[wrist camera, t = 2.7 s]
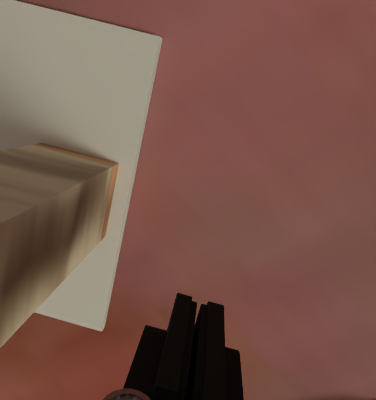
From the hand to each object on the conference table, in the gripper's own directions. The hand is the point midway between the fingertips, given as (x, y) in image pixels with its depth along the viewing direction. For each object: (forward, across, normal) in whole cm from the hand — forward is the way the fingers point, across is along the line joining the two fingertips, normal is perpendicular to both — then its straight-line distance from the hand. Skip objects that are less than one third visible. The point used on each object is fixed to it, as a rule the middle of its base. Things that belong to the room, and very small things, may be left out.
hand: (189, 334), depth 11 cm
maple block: (+10, +9, -1) cm, 13 cm away
